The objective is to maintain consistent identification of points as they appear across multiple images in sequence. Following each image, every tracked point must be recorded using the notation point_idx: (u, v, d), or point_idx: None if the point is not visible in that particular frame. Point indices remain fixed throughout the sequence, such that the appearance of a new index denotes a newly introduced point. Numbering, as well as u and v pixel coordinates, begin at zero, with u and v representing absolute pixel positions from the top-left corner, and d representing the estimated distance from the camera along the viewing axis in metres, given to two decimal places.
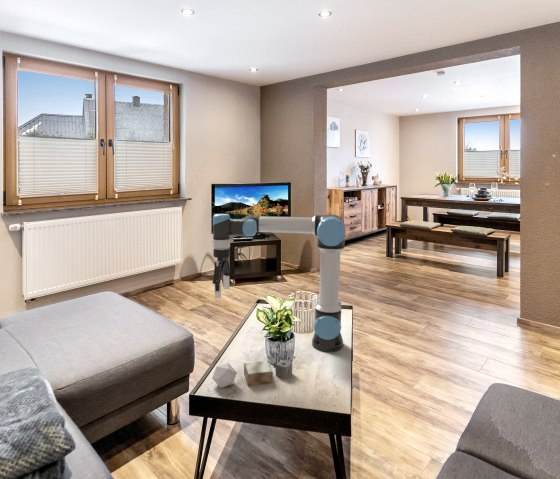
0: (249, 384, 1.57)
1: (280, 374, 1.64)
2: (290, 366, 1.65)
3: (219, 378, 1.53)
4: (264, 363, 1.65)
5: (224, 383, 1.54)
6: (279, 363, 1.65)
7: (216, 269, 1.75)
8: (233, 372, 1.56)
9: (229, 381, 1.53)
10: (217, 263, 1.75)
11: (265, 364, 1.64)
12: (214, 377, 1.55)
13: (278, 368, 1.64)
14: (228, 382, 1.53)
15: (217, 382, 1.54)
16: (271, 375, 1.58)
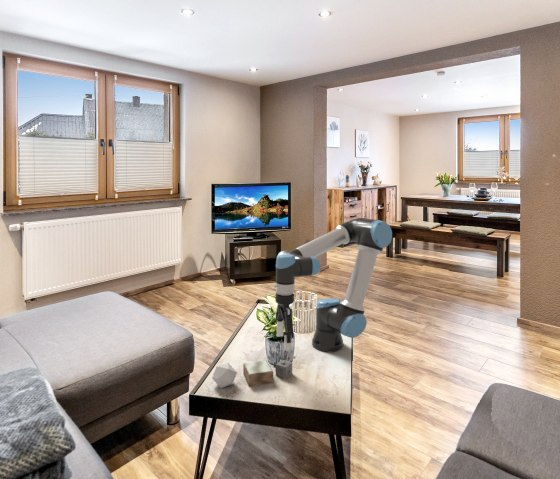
0: (250, 384, 1.57)
1: (280, 374, 1.64)
2: (290, 366, 1.65)
3: (219, 378, 1.53)
4: (264, 363, 1.65)
5: (224, 383, 1.54)
6: (279, 363, 1.65)
7: (288, 319, 1.54)
8: (233, 372, 1.56)
9: (229, 381, 1.53)
10: (288, 311, 1.55)
11: (265, 364, 1.64)
12: (214, 377, 1.55)
13: (278, 368, 1.64)
14: (228, 382, 1.53)
15: (217, 382, 1.54)
16: (272, 375, 1.59)
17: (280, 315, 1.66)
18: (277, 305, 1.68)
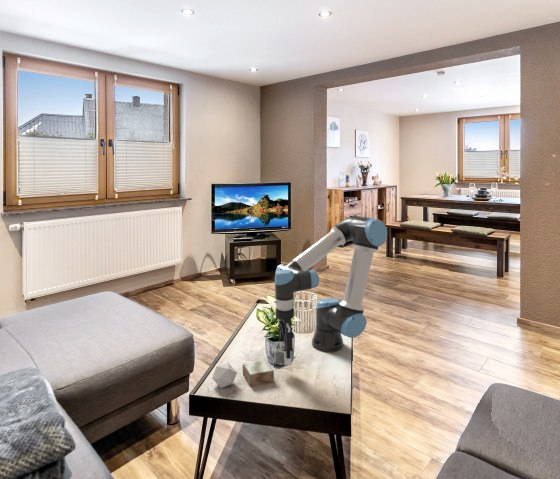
0: (251, 385, 1.56)
1: (282, 361, 1.63)
2: (291, 352, 1.64)
3: (219, 378, 1.53)
4: (263, 363, 1.65)
5: (224, 383, 1.54)
6: (280, 350, 1.65)
7: (288, 337, 1.57)
8: (233, 372, 1.56)
9: (229, 381, 1.53)
10: (289, 330, 1.56)
11: (264, 364, 1.65)
12: (214, 377, 1.55)
13: (279, 355, 1.63)
14: (228, 382, 1.53)
15: (217, 382, 1.54)
16: (272, 374, 1.59)
17: (282, 332, 1.66)
18: None
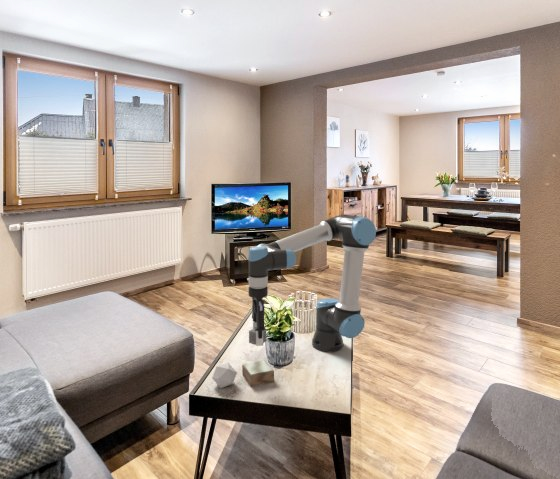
0: (252, 385, 1.56)
1: (253, 341, 1.58)
2: (263, 333, 1.59)
3: (219, 378, 1.53)
4: (263, 363, 1.65)
5: (224, 383, 1.54)
6: (253, 330, 1.59)
7: (259, 315, 1.51)
8: (233, 372, 1.56)
9: (229, 381, 1.53)
10: (261, 308, 1.51)
11: (264, 363, 1.65)
12: (214, 377, 1.55)
13: (251, 335, 1.58)
14: (228, 382, 1.53)
15: (217, 382, 1.54)
16: (272, 374, 1.60)
17: (255, 312, 1.61)
18: (252, 303, 1.64)
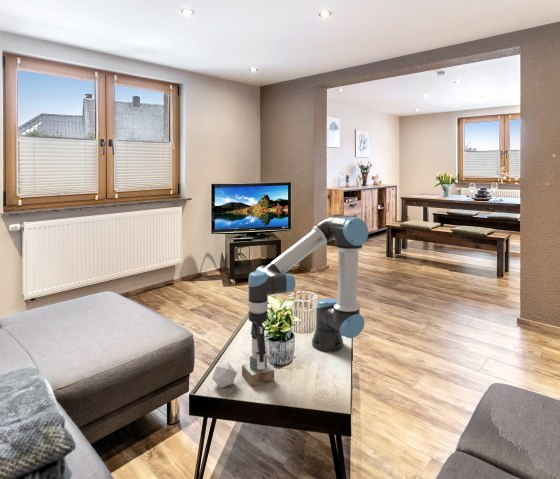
0: (253, 385, 1.56)
1: (254, 367, 1.60)
2: None
3: (219, 378, 1.53)
4: None
5: (224, 383, 1.54)
6: (253, 355, 1.61)
7: (260, 338, 1.52)
8: (233, 372, 1.56)
9: (229, 381, 1.53)
10: (261, 330, 1.52)
11: None
12: (214, 377, 1.55)
13: (252, 360, 1.60)
14: (228, 382, 1.53)
15: (217, 382, 1.54)
16: (273, 374, 1.60)
17: (254, 333, 1.64)
18: (252, 322, 1.66)
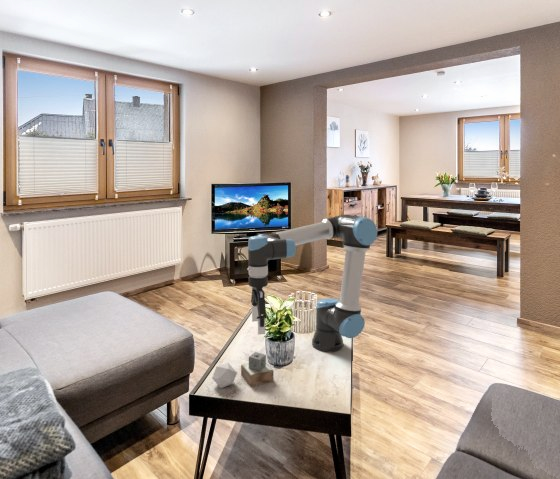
0: (252, 385, 1.56)
1: (253, 367, 1.60)
2: (263, 358, 1.61)
3: (219, 378, 1.53)
4: None
5: (224, 383, 1.54)
6: (252, 355, 1.61)
7: (260, 302, 1.50)
8: (233, 372, 1.56)
9: (229, 381, 1.53)
10: (261, 294, 1.50)
11: None
12: (214, 377, 1.55)
13: (251, 360, 1.60)
14: (228, 382, 1.53)
15: (217, 382, 1.54)
16: (272, 373, 1.60)
17: (255, 299, 1.62)
18: (252, 289, 1.64)
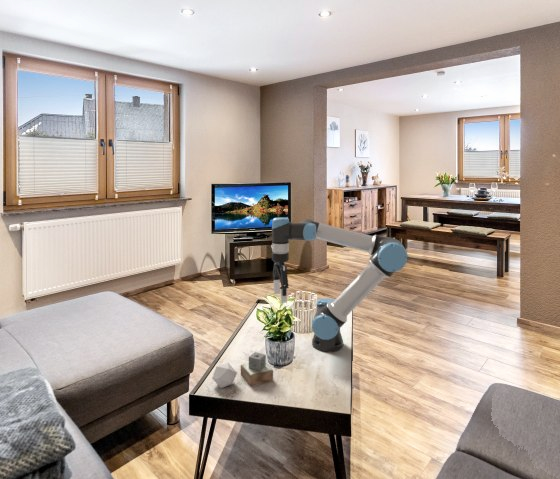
0: (251, 385, 1.57)
1: (253, 367, 1.60)
2: (263, 358, 1.61)
3: (219, 378, 1.53)
4: None
5: (224, 383, 1.54)
6: (252, 355, 1.61)
7: (283, 274, 1.72)
8: (233, 372, 1.56)
9: (229, 381, 1.53)
10: (284, 267, 1.73)
11: None
12: (214, 377, 1.55)
13: (251, 360, 1.60)
14: (228, 382, 1.53)
15: (217, 382, 1.54)
16: (271, 373, 1.60)
17: (276, 273, 1.84)
18: (274, 265, 1.86)
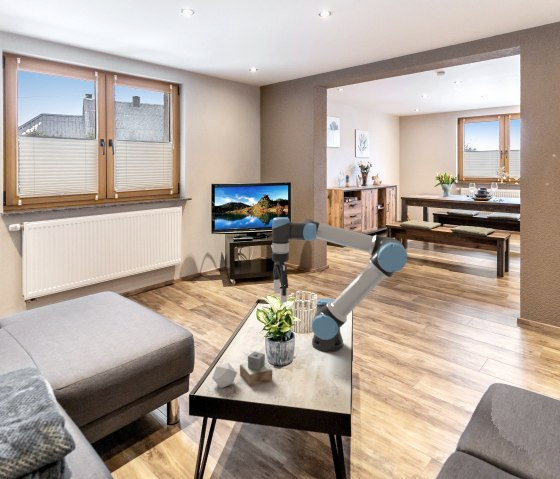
0: (251, 384, 1.57)
1: (252, 366, 1.60)
2: (262, 357, 1.61)
3: (219, 378, 1.53)
4: None
5: (224, 383, 1.54)
6: (251, 355, 1.61)
7: (283, 274, 1.72)
8: (233, 372, 1.56)
9: (229, 381, 1.53)
10: (284, 267, 1.73)
11: None
12: (214, 377, 1.55)
13: (250, 360, 1.60)
14: (228, 382, 1.53)
15: (217, 382, 1.54)
16: (271, 373, 1.60)
17: (276, 273, 1.84)
18: (274, 265, 1.86)
